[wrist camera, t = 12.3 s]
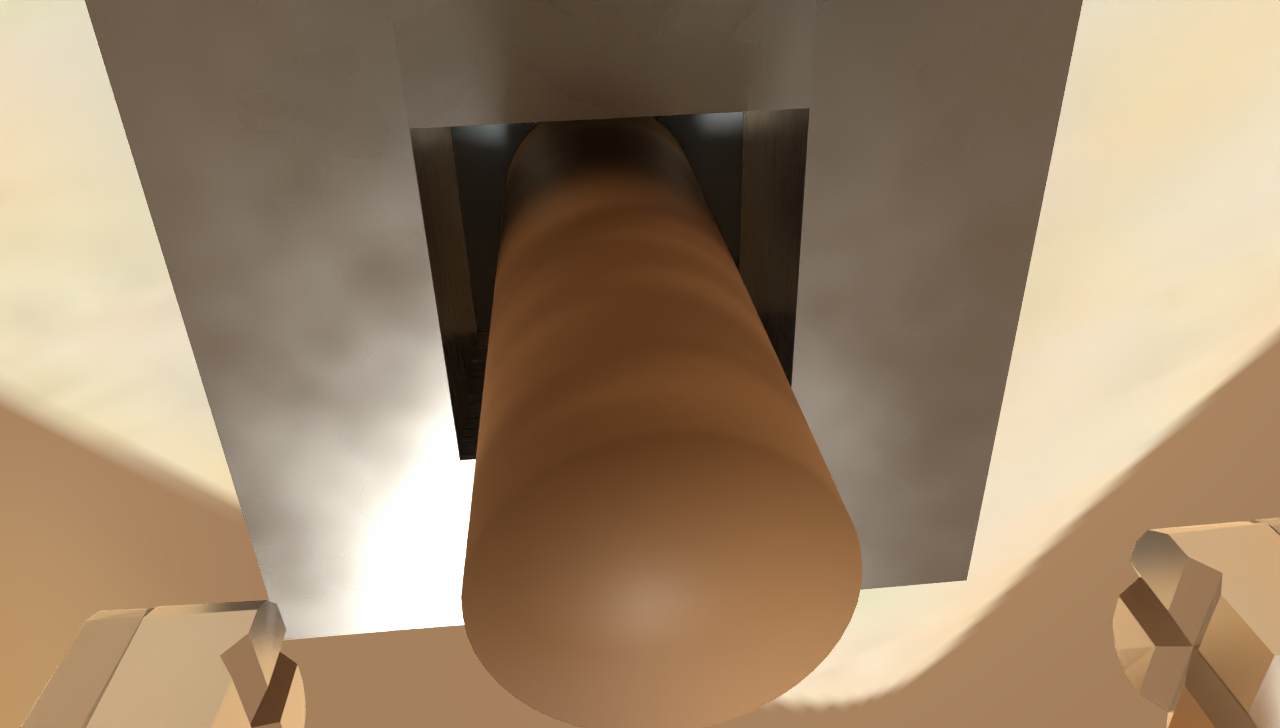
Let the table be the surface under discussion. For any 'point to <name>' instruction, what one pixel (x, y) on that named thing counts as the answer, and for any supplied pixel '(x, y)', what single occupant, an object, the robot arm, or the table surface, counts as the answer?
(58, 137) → the table surface
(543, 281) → the walnut peg
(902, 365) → the socket block
